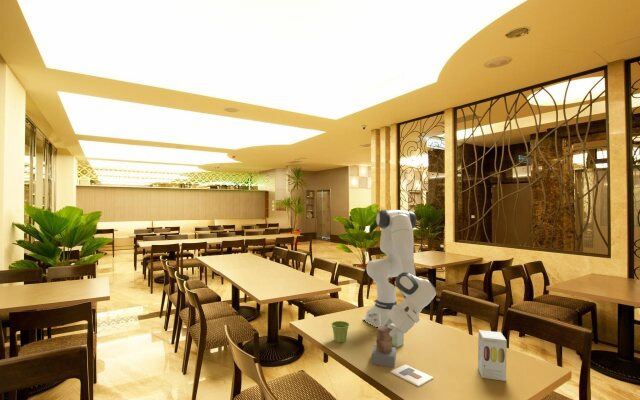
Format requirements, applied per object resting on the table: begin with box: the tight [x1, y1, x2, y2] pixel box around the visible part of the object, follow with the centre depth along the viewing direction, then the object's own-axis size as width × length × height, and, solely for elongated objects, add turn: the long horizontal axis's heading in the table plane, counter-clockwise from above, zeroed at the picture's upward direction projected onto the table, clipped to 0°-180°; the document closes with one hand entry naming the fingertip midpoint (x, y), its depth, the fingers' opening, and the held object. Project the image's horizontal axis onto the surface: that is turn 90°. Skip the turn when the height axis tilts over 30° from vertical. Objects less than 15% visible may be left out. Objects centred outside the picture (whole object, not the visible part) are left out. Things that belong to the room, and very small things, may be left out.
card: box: [390, 364, 434, 387], centre depth 140 cm, size 14×10×1 cm
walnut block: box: [375, 326, 393, 354], centre depth 153 cm, size 5×5×10 cm
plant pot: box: [330, 320, 350, 343], centre depth 175 cm, size 9×9×9 cm
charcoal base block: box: [371, 344, 397, 368], centre depth 153 cm, size 10×10×5 cm
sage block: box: [390, 323, 405, 348], centre depth 171 cm, size 5×5×10 cm
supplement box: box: [477, 329, 508, 382], centre depth 142 cm, size 10×9×17 cm
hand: (387, 331), depth 153 cm, fingers open, 8 cm apart
